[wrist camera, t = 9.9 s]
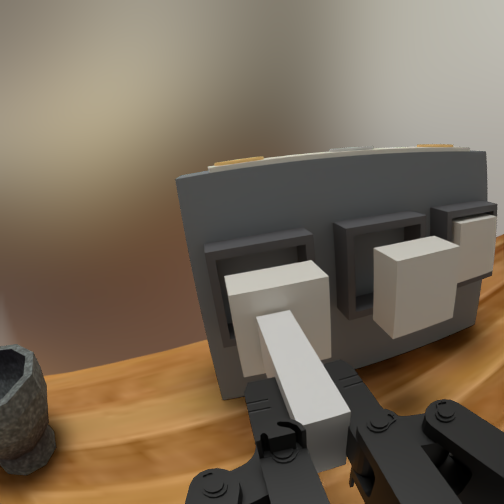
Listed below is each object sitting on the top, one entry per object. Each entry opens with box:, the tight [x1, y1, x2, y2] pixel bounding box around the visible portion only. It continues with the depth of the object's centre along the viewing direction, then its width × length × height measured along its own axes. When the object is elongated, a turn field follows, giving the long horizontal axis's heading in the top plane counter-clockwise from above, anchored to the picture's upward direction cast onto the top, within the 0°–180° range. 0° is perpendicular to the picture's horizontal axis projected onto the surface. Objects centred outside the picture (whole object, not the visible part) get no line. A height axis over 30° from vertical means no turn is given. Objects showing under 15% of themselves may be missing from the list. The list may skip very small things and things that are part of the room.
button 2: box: [452, 213, 497, 283], centre depth 21 cm, size 4×2×4 cm, turn 98°
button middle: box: [373, 236, 460, 339], centre depth 16 cm, size 4×2×4 cm, turn 98°
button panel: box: [176, 144, 497, 400], centre depth 23 cm, size 24×7×16 cm, turn 98°
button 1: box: [224, 260, 331, 377], centre depth 15 cm, size 4×2×4 cm, turn 98°
